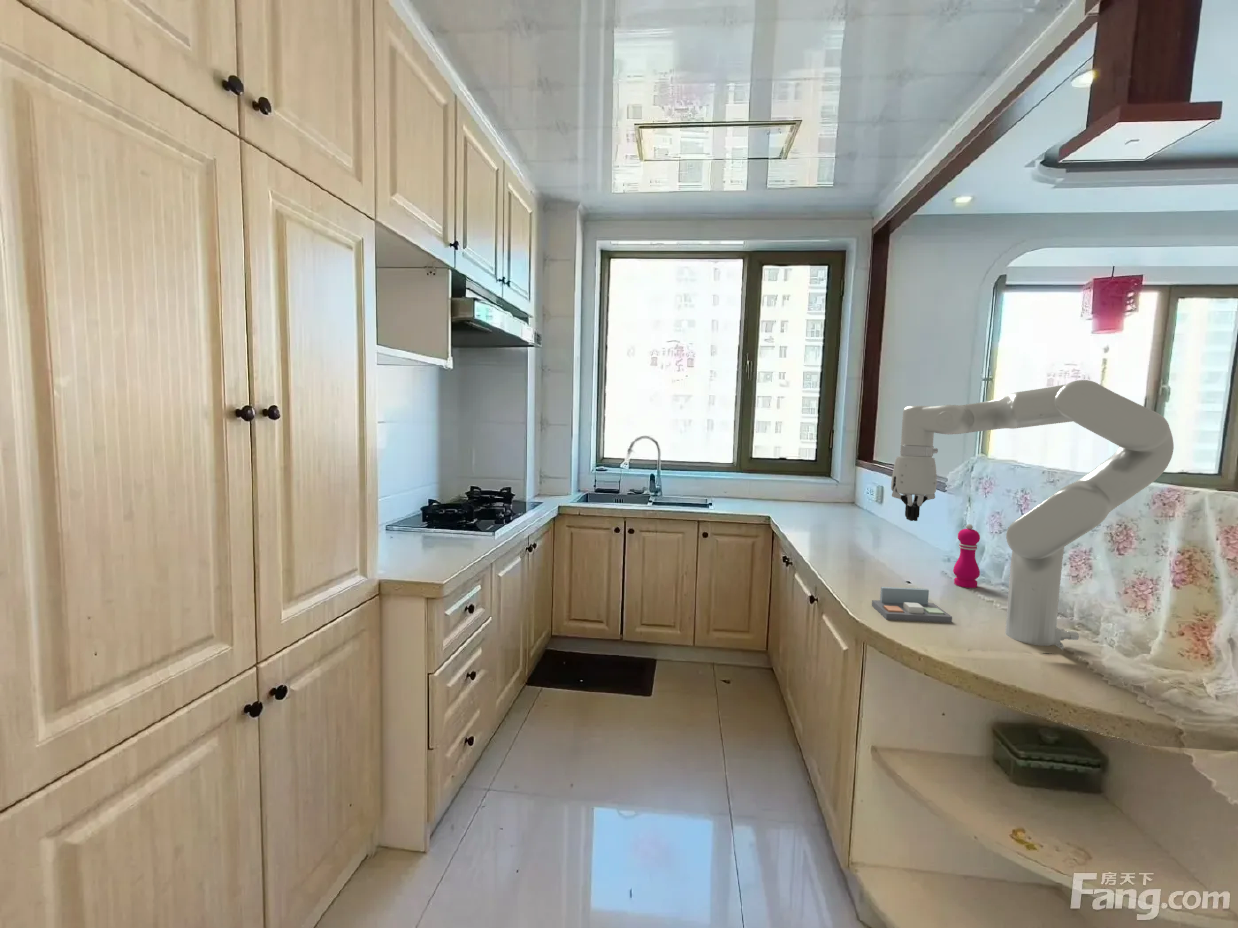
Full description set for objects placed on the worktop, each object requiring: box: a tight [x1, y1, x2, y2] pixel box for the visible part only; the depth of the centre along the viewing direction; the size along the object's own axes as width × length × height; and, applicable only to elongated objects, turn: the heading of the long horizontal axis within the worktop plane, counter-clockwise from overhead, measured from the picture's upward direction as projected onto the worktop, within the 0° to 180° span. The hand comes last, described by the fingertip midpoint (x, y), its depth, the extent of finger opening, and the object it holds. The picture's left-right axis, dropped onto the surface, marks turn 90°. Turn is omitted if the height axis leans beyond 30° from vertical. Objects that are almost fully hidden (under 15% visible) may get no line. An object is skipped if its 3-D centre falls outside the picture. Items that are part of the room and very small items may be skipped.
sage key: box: [924, 607, 944, 615], centre depth 142 cm, size 4×4×3 cm
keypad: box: [871, 586, 953, 624], centre depth 144 cm, size 16×10×7 cm, turn 84°
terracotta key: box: [884, 605, 903, 613], centre depth 143 cm, size 4×4×3 cm
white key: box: [903, 602, 924, 614], centre depth 142 cm, size 4×4×3 cm
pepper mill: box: [952, 523, 981, 589], centre depth 174 cm, size 7×7×20 cm
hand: (911, 519), depth 146 cm, fingers closed
